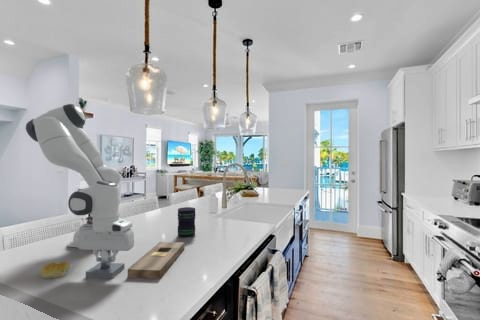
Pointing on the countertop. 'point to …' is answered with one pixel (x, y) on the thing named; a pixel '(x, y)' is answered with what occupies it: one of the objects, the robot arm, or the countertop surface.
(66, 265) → the bread roll
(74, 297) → the countertop surface
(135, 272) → the walnut rail
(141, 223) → the countertop surface
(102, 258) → the metal peg
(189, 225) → the storage jar
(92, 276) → the plate
